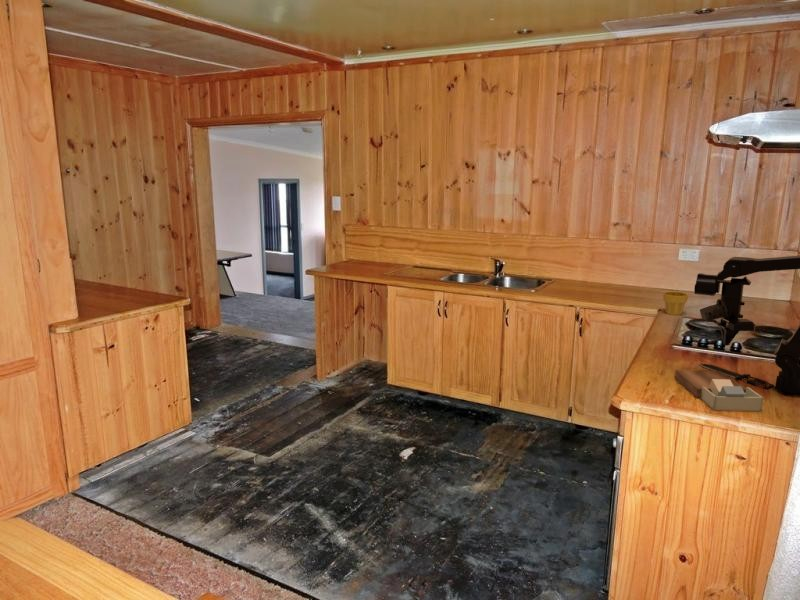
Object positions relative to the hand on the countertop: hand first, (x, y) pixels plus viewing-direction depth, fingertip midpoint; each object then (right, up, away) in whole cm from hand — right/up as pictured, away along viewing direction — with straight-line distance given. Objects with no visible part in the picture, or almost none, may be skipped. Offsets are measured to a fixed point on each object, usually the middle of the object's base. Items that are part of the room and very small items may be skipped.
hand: (726, 345), depth 176 cm
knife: (+6, -11, +7) cm, 14 cm away
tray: (-8, -16, -16) cm, 24 cm away
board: (-8, -13, -4) cm, 16 cm away
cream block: (-9, -13, -13) cm, 21 cm away
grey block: (-9, -12, -17) cm, 23 cm away
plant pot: (+27, +8, +88) cm, 92 cm away
